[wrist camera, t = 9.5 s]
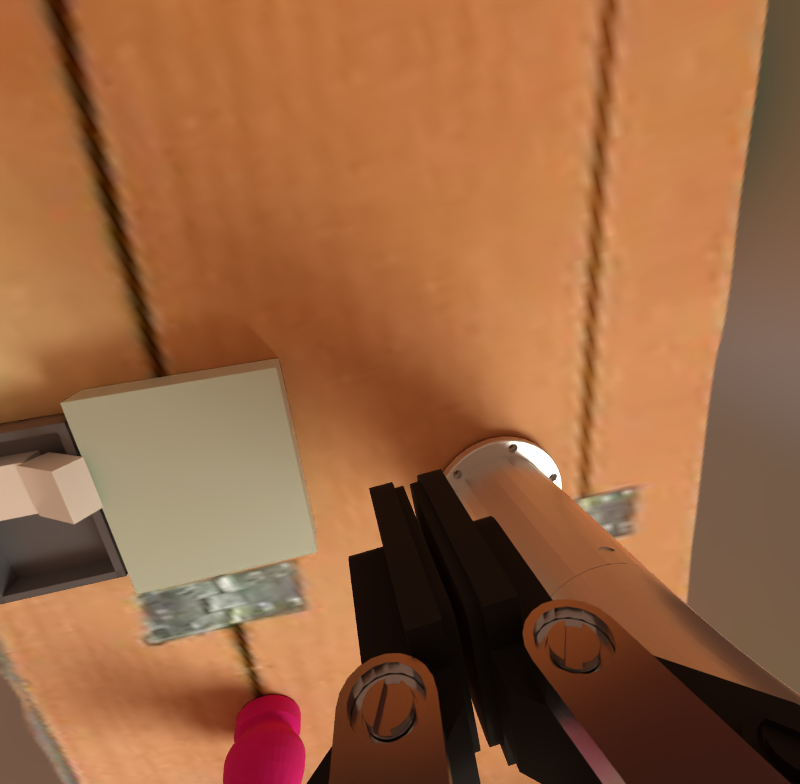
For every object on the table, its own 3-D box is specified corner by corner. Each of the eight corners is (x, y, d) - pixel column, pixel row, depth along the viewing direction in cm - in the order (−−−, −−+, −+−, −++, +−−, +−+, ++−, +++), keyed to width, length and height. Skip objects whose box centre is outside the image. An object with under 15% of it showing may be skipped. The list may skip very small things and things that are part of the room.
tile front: (83, 457, 30) (51, 471, 28) (103, 507, 31) (74, 524, 29) (48, 451, 31) (16, 465, 29) (69, 500, 32) (39, 515, 31)
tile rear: (-45, 474, 29) (-24, 461, 31) (-19, 524, 30) (0, 509, 32) (22, 462, 30) (38, 450, 32) (44, 512, 31) (59, 497, 33)
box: (81, 410, 32) (64, 422, 30) (137, 555, 36) (126, 575, 34) (-58, 433, 31) (-88, 448, 28) (17, 581, 35) (-4, 605, 32)
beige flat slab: (278, 357, 34) (276, 367, 31) (316, 530, 39) (316, 552, 36) (81, 389, 32) (60, 403, 29) (149, 568, 37) (136, 594, 34)
